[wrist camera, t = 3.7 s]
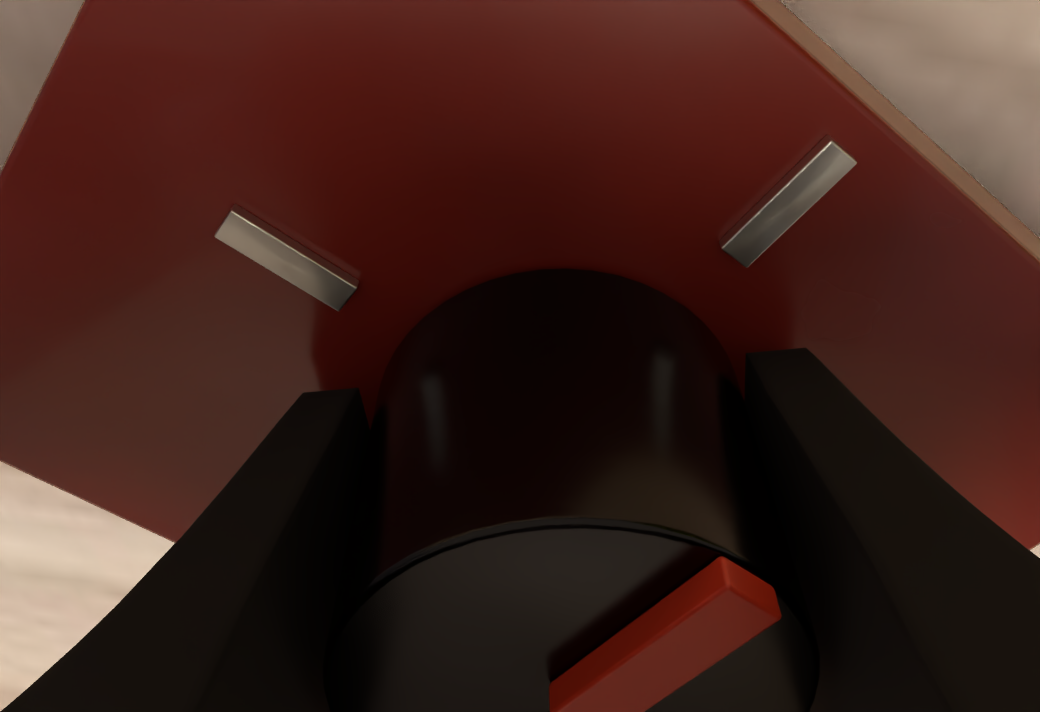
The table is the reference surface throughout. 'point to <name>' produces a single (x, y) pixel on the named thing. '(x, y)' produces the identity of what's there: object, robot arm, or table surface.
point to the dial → (566, 518)
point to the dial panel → (477, 224)
